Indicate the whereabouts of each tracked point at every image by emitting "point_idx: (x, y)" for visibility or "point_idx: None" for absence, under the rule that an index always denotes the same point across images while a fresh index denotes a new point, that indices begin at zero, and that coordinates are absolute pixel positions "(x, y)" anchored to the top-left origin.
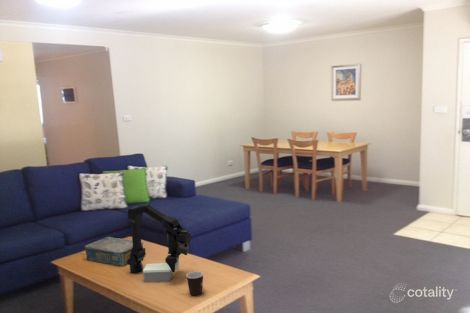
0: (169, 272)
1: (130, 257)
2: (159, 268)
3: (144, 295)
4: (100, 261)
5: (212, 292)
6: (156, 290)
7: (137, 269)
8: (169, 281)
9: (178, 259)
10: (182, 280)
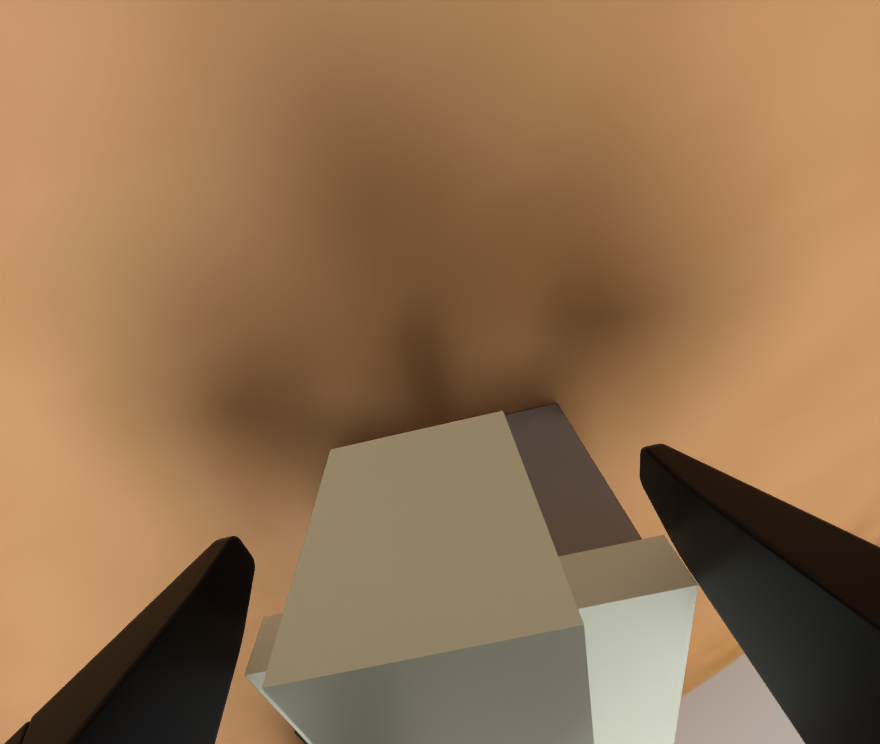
0: (608, 527)
1: None
2: (601, 731)
3: (856, 513)
4: None
5: None
6: (765, 460)
7: None
8: (564, 420)
9: (60, 710)
10: (460, 250)
